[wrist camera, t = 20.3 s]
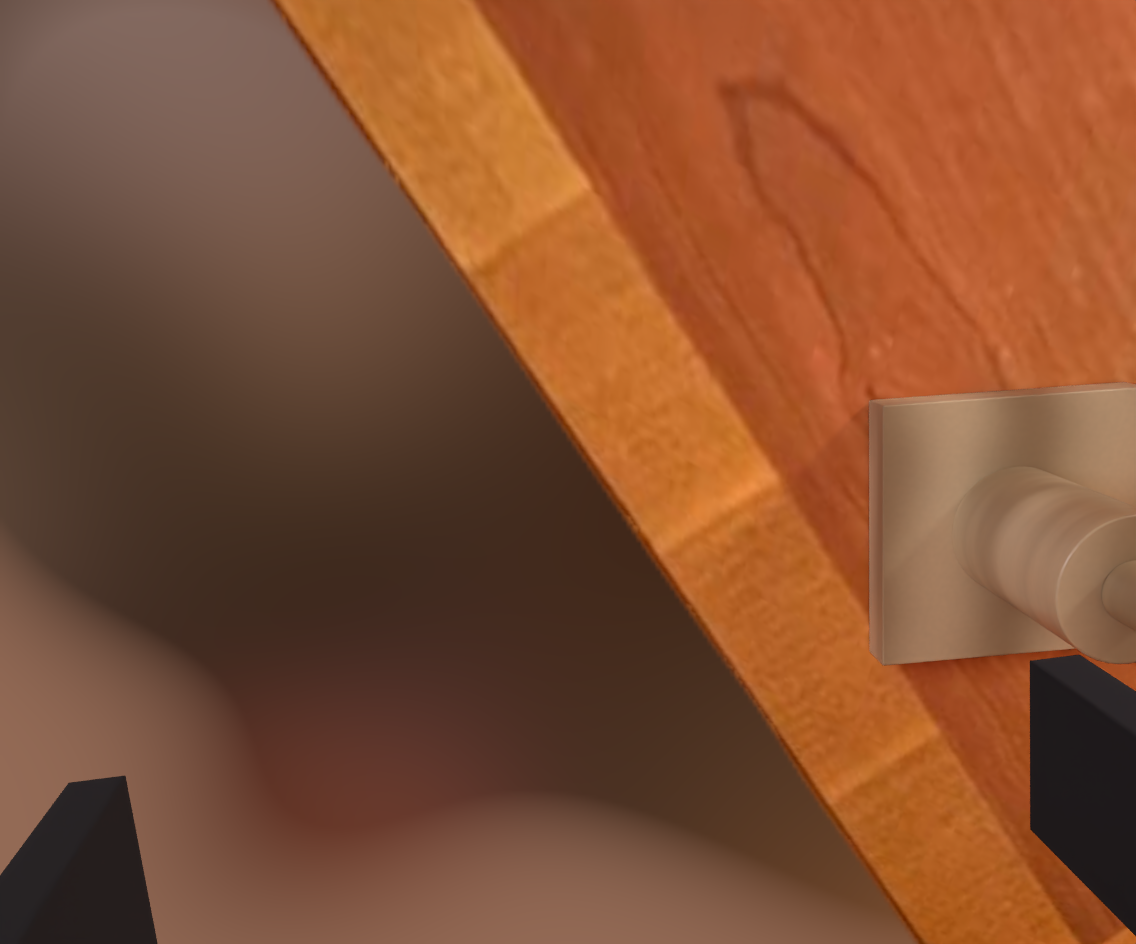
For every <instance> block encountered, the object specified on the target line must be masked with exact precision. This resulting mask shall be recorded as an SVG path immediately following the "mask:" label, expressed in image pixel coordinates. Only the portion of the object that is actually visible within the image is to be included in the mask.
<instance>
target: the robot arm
mask: <svg viewBox="0 0 1136 944" xmlns="http://www.w3.org/2000/svg"><path fill="white" fill-rule="evenodd" d="M1030 829H1031V830H1032V831H1033V832H1034V833H1035V834H1036V835H1037V837H1038V838H1039V839H1040V840H1041V841H1042V842H1043V843H1044V844H1045V845H1046V846H1047V847H1048V848H1049V849H1050V850H1051V851H1052V852H1053V853H1054V854H1055V855H1056V856H1057V857H1058V858H1059V859H1060V860H1061V861H1062V862H1063V863H1064V864H1065V865H1066V866H1067V867H1068V868H1069V869H1070V870H1071V871H1072V872H1073V873H1074V874H1075V875H1076V876H1077V877H1078V878H1079V879H1080V880H1081V881H1082V882H1083V883H1084V884H1085V885H1086V886H1087V887H1088V888H1089V889H1090V890H1091V891H1092V892H1093V893H1094V894H1095V895H1096V896H1097V897H1098V898H1099V899H1100V900H1101V901H1102V902H1103V903H1104V904H1105V905H1106V906H1107V907H1108V908H1109V909H1110V910H1111V911H1112V912H1113V913H1114V914H1115V915H1116V916H1117V917H1118V919H1119V920H1120V921H1121V922H1122V923H1123V924H1124V925H1125V926H1126V927H1127V928H1128V929H1129V930H1130V931H1131V932H1132V933H1133V934H1134V935H1135V936H1136V691H1134V690H1133V689H1131V688H1130V687H1128V686H1127V685H1125V684H1124V683H1122V682H1121V681H1119V680H1118V679H1116V678H1114V677H1113V676H1111V675H1110V674H1108V673H1107V672H1105V671H1104V670H1102V669H1101V668H1099V667H1098V666H1096V665H1094V664H1093V663H1091V662H1090V661H1088V660H1087V659H1085V658H1084V657H1082V656H1081V655H1073V656H1065V657H1057V658H1049V659H1041V660H1033V661H1030ZM0 944H157V939H156V934H155V928H154V923H153V918H152V913H151V907H150V902H149V897H148V892H147V886H146V881H145V876H144V871H143V866H142V860H141V855H140V850H139V845H138V839H137V834H136V829H135V824H134V819H133V813H132V808H131V803H130V798H129V793H128V787H127V782H126V777H125V776H119V777H111V778H104V779H95V780H89V781H81V782H72V783H68V785H67V786H66V787H65V789H64V790H63V791H62V793H61V794H60V795H59V797H58V798H57V800H56V801H55V802H54V804H53V805H52V806H51V808H50V809H49V810H48V812H47V813H46V814H45V816H44V817H43V819H42V820H41V821H40V822H39V824H38V825H37V827H36V828H35V829H34V831H33V832H32V833H31V835H30V836H29V837H28V839H27V840H26V841H25V843H24V844H23V845H22V847H21V848H20V850H19V851H18V852H17V853H16V855H15V856H14V858H13V859H12V860H11V862H10V863H9V864H8V866H7V867H6V868H5V870H4V871H3V872H2V874H1V875H0Z"/></svg>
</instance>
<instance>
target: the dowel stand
mask: <svg viewBox="0 0 1136 944" xmlns="http://www.w3.org/2000/svg"><path fill="white" fill-rule="evenodd" d="M1065 649H1077V650H1079V651H1080V652H1082V653H1083V654H1085V655H1087V656H1088V657H1090V658H1093V659H1095V660H1098V661H1102V662H1106V663H1112V664H1129V663H1136V384H1132V383H1127V382H1117V383H1103V384H1089V385H1075V386H1061V387H1047V388H1033V389H1019V390H1005V391H991V392H977V393H964V394H950V395H936V396H922V397H908V398H894V399H880V400H870V401H869V651H870V653H871V654H872V655H873V656H874V657H875V658H876V659H877V660H878V661H879V662H880V663H881V664H882V665H895V664H906V663H918V662H929V661H940V660H952V659H963V658H974V657H986V656H997V655H1008V654H1020V653H1031V652H1042V651H1054V650H1065Z"/></svg>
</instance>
